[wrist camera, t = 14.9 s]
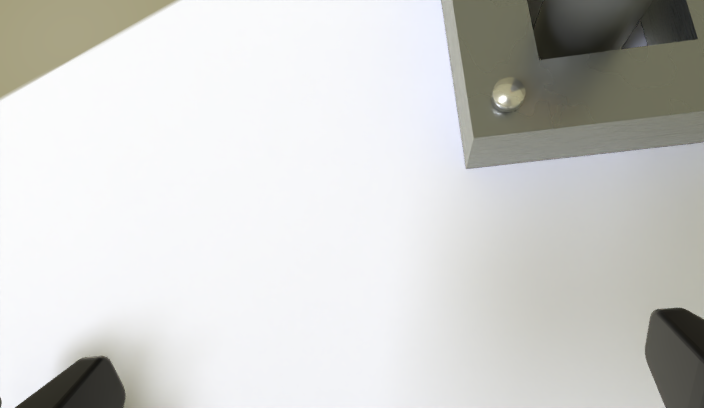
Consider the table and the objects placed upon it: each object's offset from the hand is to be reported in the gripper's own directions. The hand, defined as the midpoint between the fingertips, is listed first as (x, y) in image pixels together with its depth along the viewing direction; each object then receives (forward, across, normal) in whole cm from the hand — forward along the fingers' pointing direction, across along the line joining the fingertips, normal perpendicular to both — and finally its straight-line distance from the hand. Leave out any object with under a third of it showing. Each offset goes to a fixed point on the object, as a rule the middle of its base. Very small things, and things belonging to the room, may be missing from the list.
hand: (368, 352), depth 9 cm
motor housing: (+19, -10, 0) cm, 22 cm away
